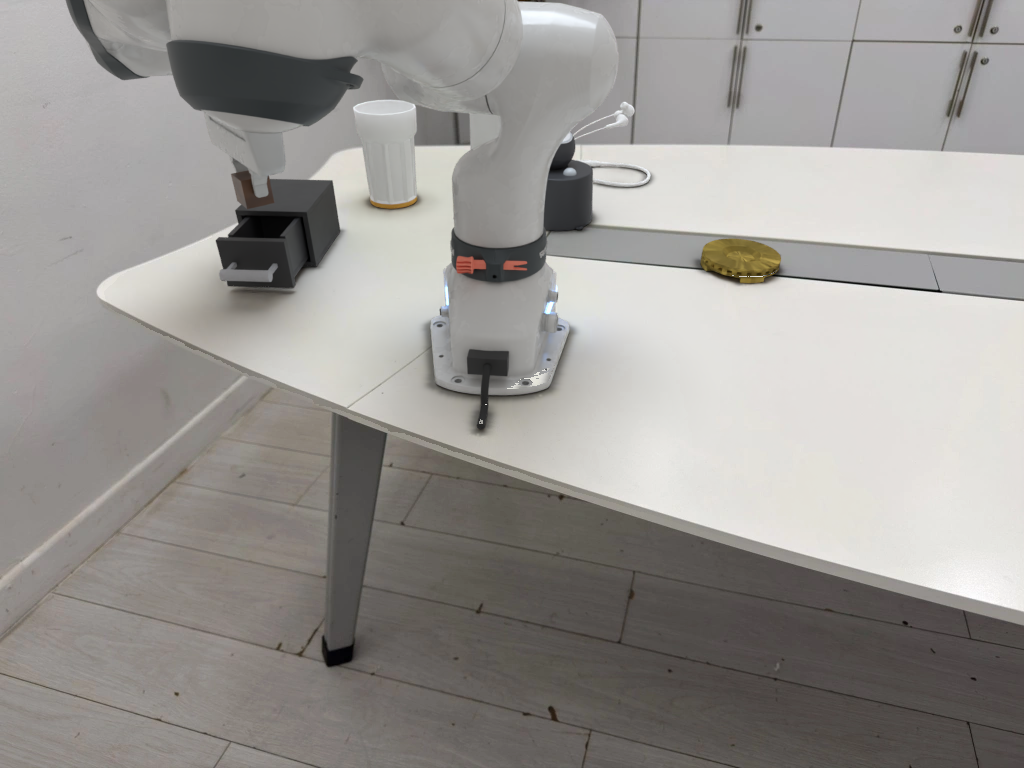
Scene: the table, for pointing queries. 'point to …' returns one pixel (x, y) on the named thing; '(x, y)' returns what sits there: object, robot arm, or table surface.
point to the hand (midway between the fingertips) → (254, 190)
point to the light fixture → (568, 190)
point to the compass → (740, 259)
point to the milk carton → (483, 128)
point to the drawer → (263, 252)
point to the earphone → (620, 121)
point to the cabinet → (304, 211)
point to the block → (249, 191)
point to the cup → (388, 151)
